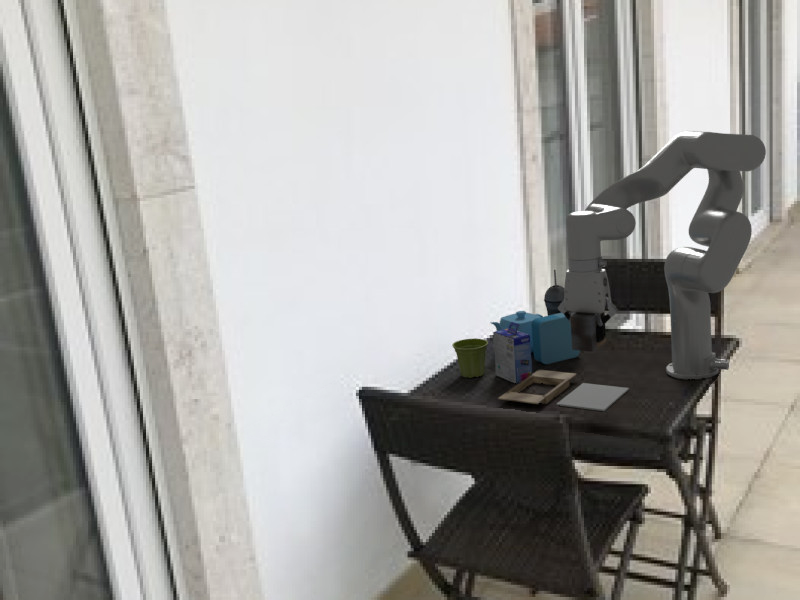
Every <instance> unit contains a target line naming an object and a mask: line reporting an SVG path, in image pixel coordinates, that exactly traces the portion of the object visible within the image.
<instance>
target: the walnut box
mask: <svg viewBox="0 0 800 600" xmlns="http://www.w3.org/2000/svg"><path fill="white" fill-rule="evenodd" d="M605 312H606V311H604V313H605ZM605 314H606V313H605ZM570 322H571V338H572V350H579V351H580V352H591V353H592V352H594V351H595V350H597V349H598V348H600V347H602V345H604V344H605V343H607V335H606V336H605V338H604V340H602V341H601V342H600V343H599V342H597V339H596V326H597V321H596V318H595V315H594V314H590V313H577V314H574V315H572V316H570Z"/></svg>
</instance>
